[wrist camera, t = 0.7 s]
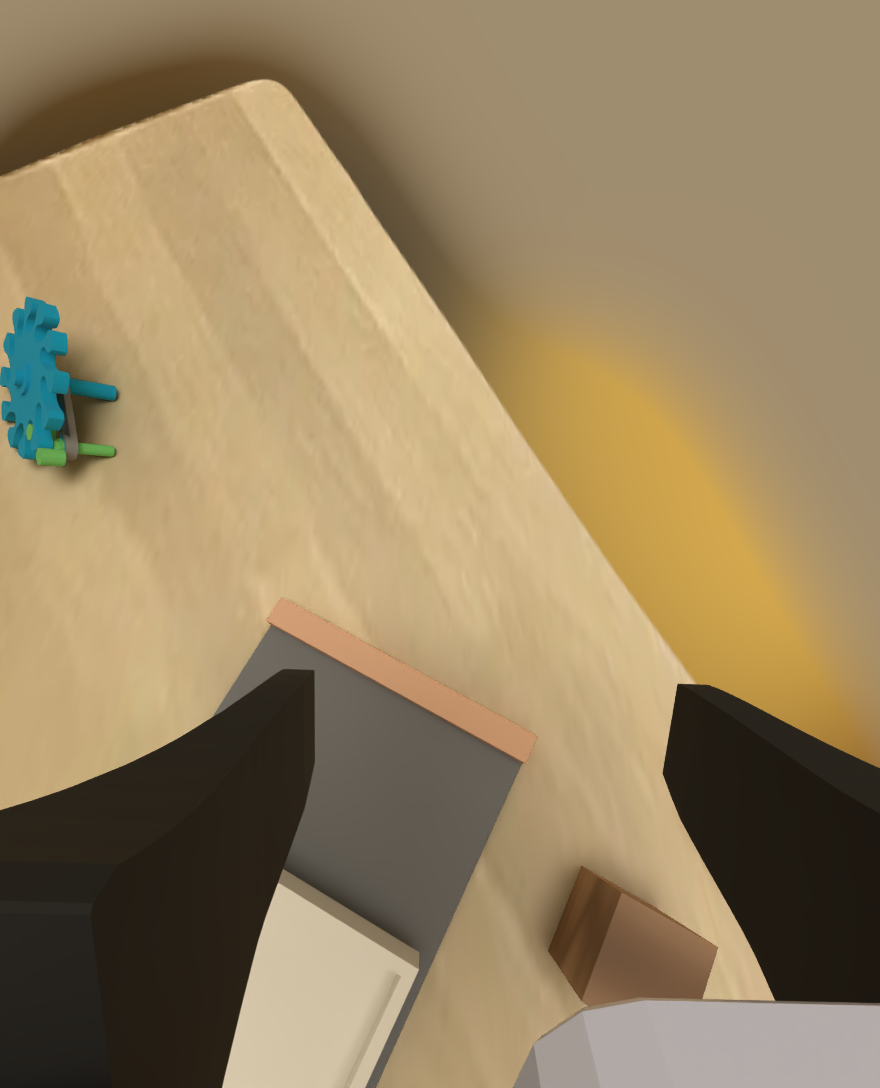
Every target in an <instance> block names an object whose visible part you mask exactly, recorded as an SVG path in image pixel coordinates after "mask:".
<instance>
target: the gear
mask: <svg viewBox="0 0 880 1088" xmlns="http://www.w3.org/2000/svg"><path fill="white" fill-rule="evenodd" d="M59 320H60V319H59V313H58V310H57V308H56V306H53V305H49V304H46V303H45V302H44V301H42V300H38V299H34V298H30V297H26V299H25V310H24V309H20V308H17V309H15V310H14V312H13V325H14V331H15V334H12V333H7V335H6V337H5V340H4V351H5V352H6V353H7V355H8V358H9V362H10V368H7V367H2V369H1V375H0V385H1V386H3V387H8V389H9V391H10V394H11V402H8V401H3V402H2V420H4V421H12V422H15V426H14V428H12V427H10V428H9V430H8V440H9V444H10V447H13V448H18V453H19V455H20V456H21V457H22V458H23V459H34V460H36V461H37V464H38V465H48V466H61V467H63V466H65V463H66V460H75V459H76V458H77V455H78V454H85V455H96V456H107V457H113V456H114V453H115V450H114V447H113V446H107V445H97V444H87V443H78V438H77V432H76V425H75V419H74V412H73V406H72V400H71V394H73V395H79V396H86V397H92V398H98V399H104V400H111V401H114V400H115V398H116V395H117V391H116V387H115V386H111V385H105V384H100V383H94V382H88V381H83V380H77V379H72V378H70V375H69V373H68V372H63V371H59V370H58V369H57V367H56V364H55V355H56V354H57V355H62V356H65V355H66V354H67V334H66V333H61V332H57V331H53V330H52V329H53V328H57V326H58V324H59ZM56 431H59V437H58V438H57V439H56Z"/></svg>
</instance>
